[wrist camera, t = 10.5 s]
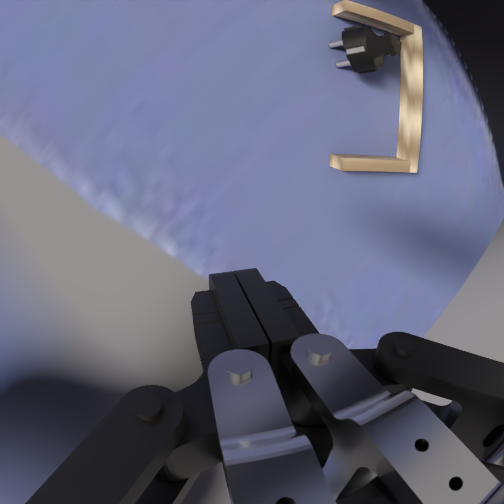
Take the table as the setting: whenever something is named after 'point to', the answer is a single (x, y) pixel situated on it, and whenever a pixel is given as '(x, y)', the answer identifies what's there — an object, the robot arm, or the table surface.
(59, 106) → the table surface
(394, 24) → the bracket
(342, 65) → the power plug
